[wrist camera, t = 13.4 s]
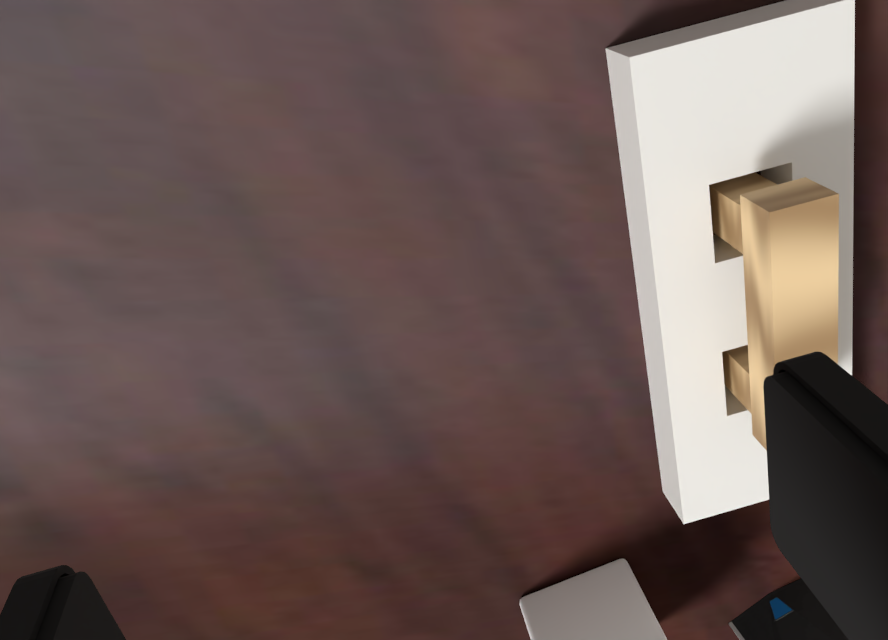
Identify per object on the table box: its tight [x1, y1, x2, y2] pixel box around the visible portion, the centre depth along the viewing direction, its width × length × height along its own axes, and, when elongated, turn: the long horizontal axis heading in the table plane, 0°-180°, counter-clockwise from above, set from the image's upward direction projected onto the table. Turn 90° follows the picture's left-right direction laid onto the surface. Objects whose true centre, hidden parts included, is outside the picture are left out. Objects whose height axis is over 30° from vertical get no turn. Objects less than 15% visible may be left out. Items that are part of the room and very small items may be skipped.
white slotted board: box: [606, 0, 855, 524], centre depth 41 cm, size 26×10×3 cm, turn 13°
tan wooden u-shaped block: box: [709, 172, 839, 451], centre depth 39 cm, size 13×3×8 cm, turn 12°
